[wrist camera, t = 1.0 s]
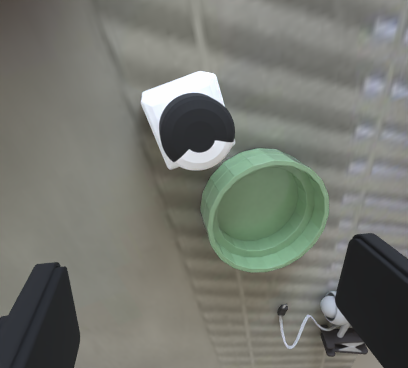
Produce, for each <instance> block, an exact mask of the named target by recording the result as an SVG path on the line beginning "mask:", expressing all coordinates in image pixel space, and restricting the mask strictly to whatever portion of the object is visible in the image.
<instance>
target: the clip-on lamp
mask: <svg viewBox="0 0 408 368" xmlns="http://www.w3.org/2000/svg"><path fill="white" fill-rule="evenodd" d="M336 292H337V291H331V292H328V293H327V294H326V296H325V297H324V298H323V299H322V300H321V303H320V307H321V310H322V312H323V313H324V315H325V317H326V319H327V320H328V321H329V322H330V323H332V324H335V325H334V326H332V327H330V328H328V326H327V325H321V326H320V325H319V324H318V323H317V322H316V321H315V319H314V318H313V317H312V316H311V315H307V316H306V317H305V319H304V321H303V323H302V325H301V328H300V330H299V333H298V336H297V338H296V340H295V342H294V343H293V345H292V346H288V345H287V343H286V340H285V337H284V331H283V323H282V316H284V315H285V313H286V311H287V310H288V306H287V304H284V305H281V306H280V308H279V310H278V315H279V320H280V328H281V334H282V339H283V341H284V344H285V346H286V347H287V348H288V349H292V348H294V347H295V345H296V344H297V342H298V340H299V338H300V336H301V333H302V331H303V328H304V326H305V323H306V321H307V319H308V318H312V320H313V321H314V322H315V324H316V325H317V326H318V327H319V328H320V329H321V332H322V333H321V338H322V341H323V344H324V347H325V350H326V353H327V355H328V356H332V357H333V356H335V352H341V353H354V354H367V352H368V350H367V347H366V345H365V343H364V342H363V340H362V339H361V338H360V337H359V335H358V334H357V333H356V331H355V330H354V329H353V328H349V327H352V326H351V325H350V324H349V322H348V321H347V320H346V319H345V317H344V316H343V315H342V313H341V312H340V311H339V309H338V308H337V306H336V303H335V296H336ZM340 326H341V328H340V329H334V328H336V327H340Z"/></svg>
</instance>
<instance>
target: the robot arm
mask: <svg viewBox="0 0 408 368" xmlns="http://www.w3.org/2000/svg"><path fill="white" fill-rule="evenodd" d="M335 303H336V306H337V308H338V309H339V311H340V312H341V313H342V315H343V316H344V317H345V319H346V320H347V321H348V322H349V324H350V325H351V326H352V328H353V329H354V330H355V331H356V333H357V334H358V335H359V337H360V338H361V339H362V340H363V342H364V343H365V344H366V346H367V347H368V348H369V349H370V351H371V352H372V353H373V355H374V356H375V357H376V358H377V360H378V361H379V362H380V364H381V365H382V366H383V367H384V368H408V259H407V258H406V257H404V256H403V255H402V254H400V253H399V252H398V251H397V250H395V249H394V248H393V247H391V246H390V245H389V244H387V243H386V242H385V241H383V240H382V239H381V238H379V237H378V236H377V235H375V234H373V233H368V234H357V235H355V236H354V237H353V239H352V240H350V242H349V244H348V248H347V252H346V256H345V260H344V264H343V268H342V272H341V276H340V280H339V284H338V288H337V292H336V296H335ZM79 343H80V331H79V326H78V321H77V316H76V311H75V306H74V301H73V296H72V291H71V286H70V281H69V276H68V271H67V268H66V267H60V264H59V263H58V262H55V263H44V264H37V265H35V267H34V268H33V270H32V272H31V274H30V276H29V278H28V280H27V281H26V283H25V285H24V287H23V289H22V291H21V293H20V294H19V296H18V298H17V300H16V302H15V304H14V306H13V307H12V309H11V311H10V313H9V315H8V316H2V317H1V318H0V368H74V365H75V361H76V357H77V352H78V348H79Z"/></svg>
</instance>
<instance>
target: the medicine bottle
mask: <svg viewBox="0 0 408 368" xmlns="http://www.w3.org/2000/svg"><path fill="white" fill-rule="evenodd" d="M141 105H142V108H143V110H144V112H145V115H146V117H147V120H148V122H149V124H150V127H151V129H152V132H153V134H154V136H155V139H156V141H157V144H158V146H159V148H160V151H161V153H162V156H163V158H164V160H165V163H166V165H167V167H168V169H170V170H171V169H175V168H177V167H182V168H184V169H188V170H196V171H197V170H205V169H208V168H211V167H213V166H215V165H217V164H218V163H220V162H221V161H222V160H223V159H224V158H225V157H226V156H227V154H228V153H229V151H230V149H231V147H232V146H234V145H235V140H234V137H235V127H234V122H233V119H232V117H231V115H230V113H229V111H228V110H227V109H226V108H225V105H224V102H223V98H222V95H221V92H220V88H219V85H218V81H217V78H216V75H215V74H213V73H208V72H203V71H198V72H195V73H193V74H190V75H187V76H185V77H182V78H179V79H177V80H174V81H171V82H168V83H166V84H163V85H160V86H158V87H155V88H152V89H149V90H147V91H144V92H143V93H142V96H141Z"/></svg>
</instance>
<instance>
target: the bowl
mask: <svg viewBox="0 0 408 368" xmlns="http://www.w3.org/2000/svg"><path fill="white" fill-rule="evenodd" d="M200 211H201V215H202V219H203V224H204V227H205V230H206V233H207V236H208V238H209V241H210V244H211V246H212V248H213V249H214V251H215V252H216V254H217V255H218V257H219V258H220V259H221V260H222V261H224V262H225V263H227V264H228V265H230V266H231V267H233V268H235V269H239V270H242V271H246V272H269V271H272V270H276V269H279V268H283V267H285V266H287V265H289V264H291V263H292V262H294V261H296V260H298V259H299V258H301V257H302V256H303V255H304V254H305V253H306V252H307V251H308V250H309V249H310V248H312V247H313V246H314V244H315V243H316V241H317V240H318V238H319V237H320V235H321V234H322V232H323V230H324V228H325V225H326V221H327V218H328V215H329V196H328V193H327V191H326V188H325V185H324V183H323V181H322V180H321V179H320V178H319V176H318V175H317V174H316V173H315V172H314V171H313V170H312V169H311V168H309V167H307V166H306V165H304V164H303V163H301V162H300V161H298V160H297V159H295V158H294V157H292V156H290V155H288V154H286V153H284V152H281V151H279V150H276V149H264V148H257V149H253V150H249V151H245V152H241V153H239V154H237V155H235V156H234V157H232V158H230V159H229V160H227V161H225V162H224V163H223V164H222V165H221V166H220V167H219V168H218V169H217V170H216V171H215V172H214V173H213V175H212V176H211V177H210V179H209V181H208V183H207V185H206V187H205V189H204V191H203V194H202V201H201V209H200Z"/></svg>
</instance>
